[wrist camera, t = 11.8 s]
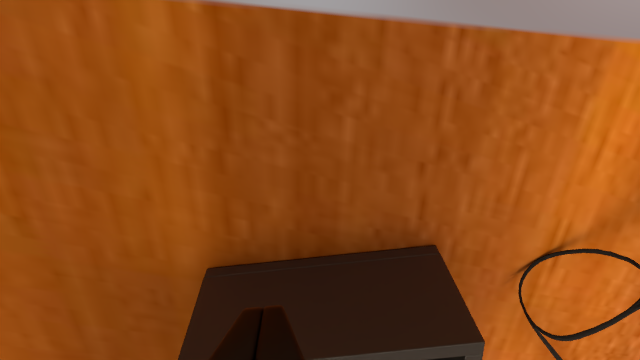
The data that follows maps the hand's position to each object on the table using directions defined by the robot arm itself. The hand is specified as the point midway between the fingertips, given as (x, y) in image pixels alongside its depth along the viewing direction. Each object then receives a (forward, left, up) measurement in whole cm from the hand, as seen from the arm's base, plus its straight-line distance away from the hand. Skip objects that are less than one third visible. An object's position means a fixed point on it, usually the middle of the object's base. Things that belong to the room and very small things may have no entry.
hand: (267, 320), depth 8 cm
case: (-14, -1, -12) cm, 18 cm away
